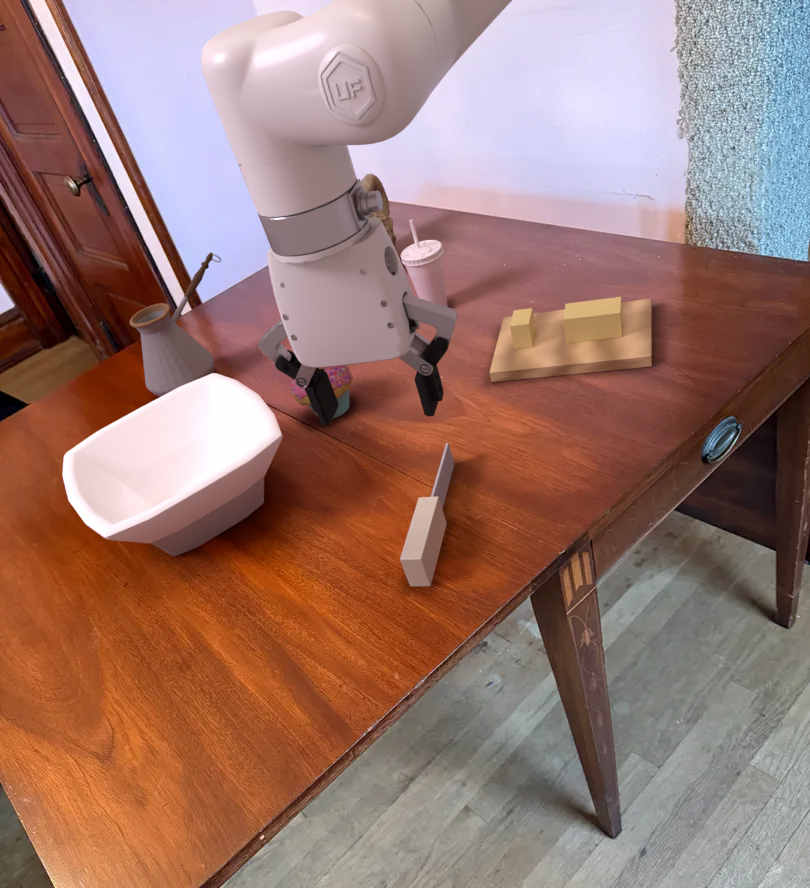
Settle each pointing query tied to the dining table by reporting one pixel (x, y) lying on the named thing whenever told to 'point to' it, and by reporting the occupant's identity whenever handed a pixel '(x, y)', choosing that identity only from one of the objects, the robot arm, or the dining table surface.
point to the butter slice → (523, 328)
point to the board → (574, 347)
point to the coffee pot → (171, 344)
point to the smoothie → (426, 268)
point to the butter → (593, 320)
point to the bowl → (176, 466)
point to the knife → (427, 528)
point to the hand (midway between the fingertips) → (380, 411)
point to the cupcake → (339, 382)
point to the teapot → (374, 184)
